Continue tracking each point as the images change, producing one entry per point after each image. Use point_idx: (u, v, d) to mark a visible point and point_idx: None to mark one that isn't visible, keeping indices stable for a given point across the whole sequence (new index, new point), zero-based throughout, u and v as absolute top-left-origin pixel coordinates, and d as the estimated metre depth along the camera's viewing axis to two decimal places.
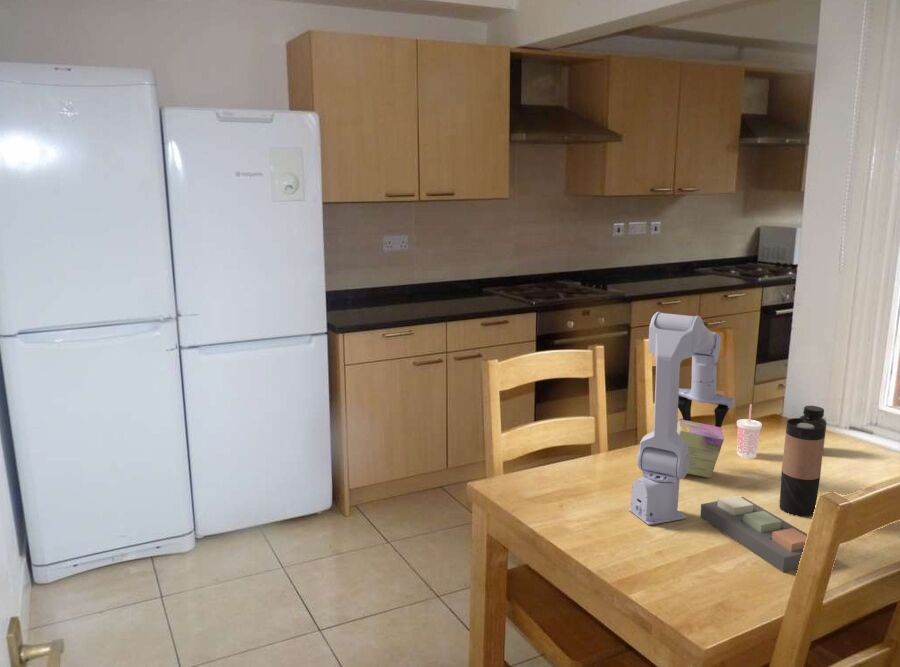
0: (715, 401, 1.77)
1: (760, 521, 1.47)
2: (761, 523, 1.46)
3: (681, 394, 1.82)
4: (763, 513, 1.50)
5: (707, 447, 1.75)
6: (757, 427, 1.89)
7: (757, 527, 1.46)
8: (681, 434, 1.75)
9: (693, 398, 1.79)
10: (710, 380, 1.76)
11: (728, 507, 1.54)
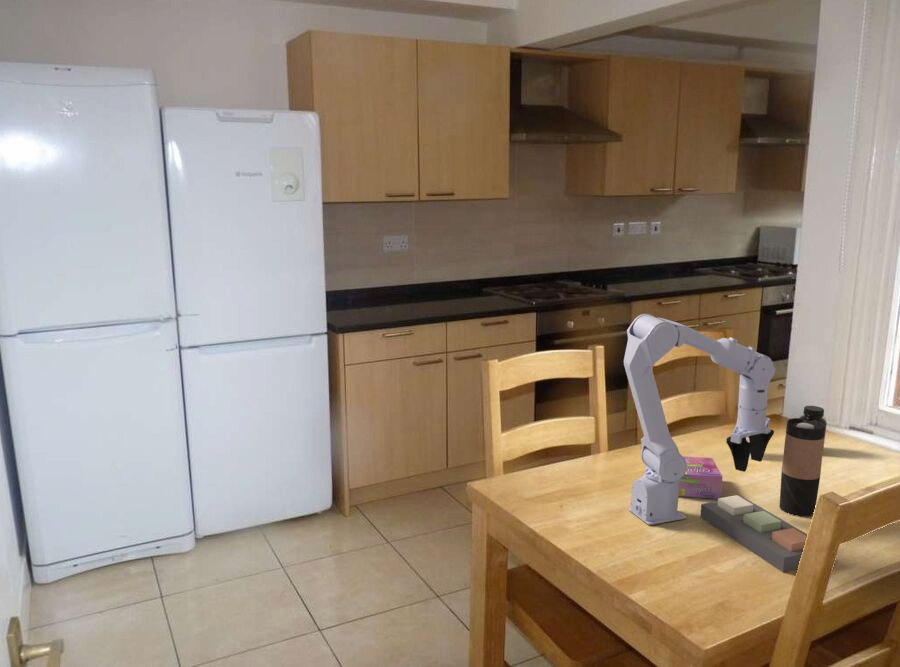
0: None
1: (760, 521, 1.47)
2: (761, 523, 1.46)
3: None
4: (763, 513, 1.50)
5: None
6: None
7: (757, 527, 1.46)
8: None
9: None
10: (749, 407, 1.56)
11: (728, 507, 1.54)
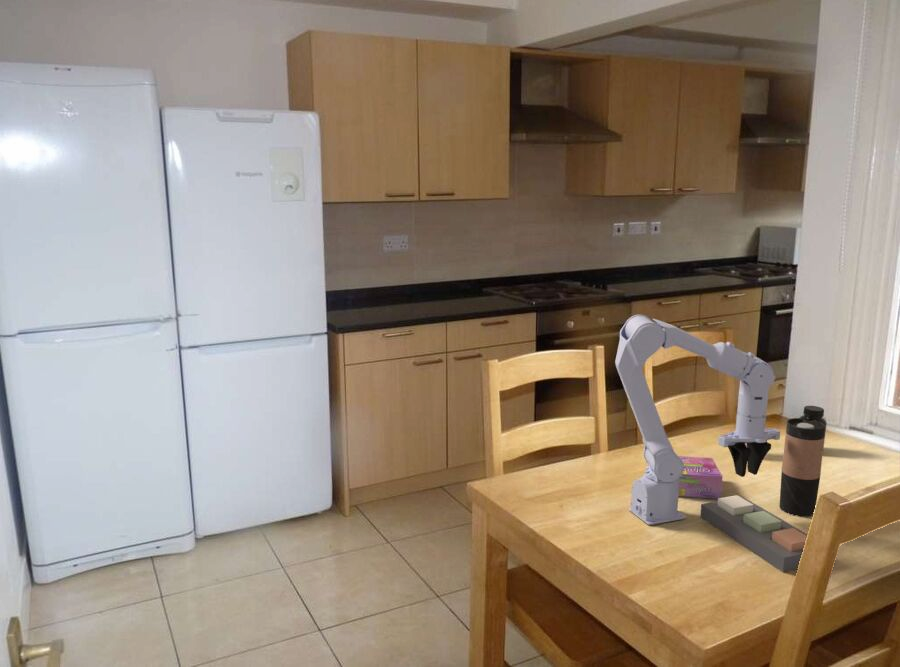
0: None
1: (760, 521, 1.47)
2: (761, 523, 1.46)
3: None
4: (763, 513, 1.50)
5: None
6: None
7: (757, 527, 1.46)
8: None
9: None
10: (746, 414, 1.53)
11: (728, 507, 1.54)
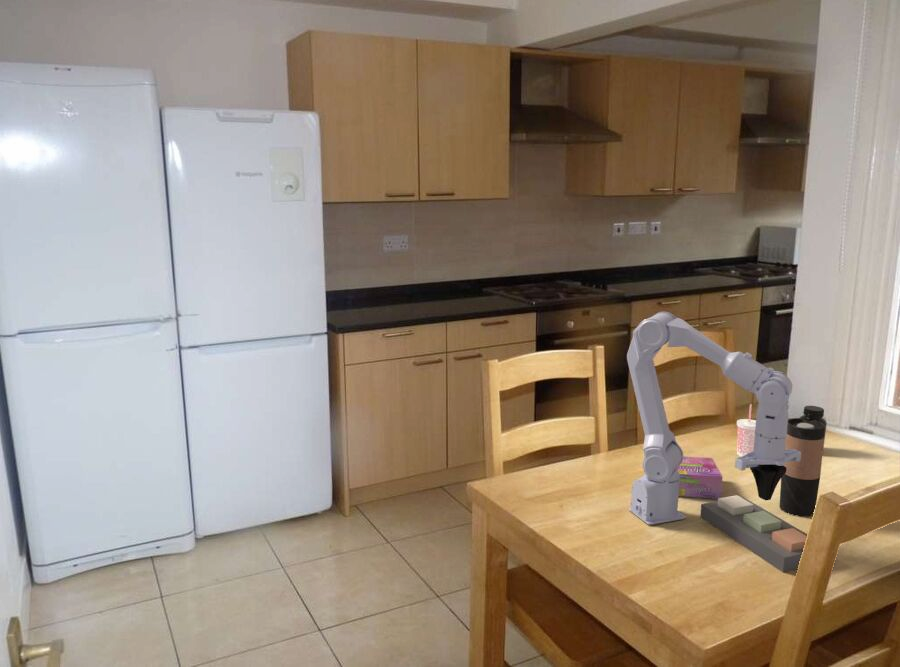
0: None
1: (760, 521, 1.47)
2: (761, 523, 1.46)
3: None
4: (763, 513, 1.50)
5: None
6: None
7: (757, 527, 1.46)
8: None
9: None
10: (758, 432, 1.44)
11: (728, 507, 1.54)
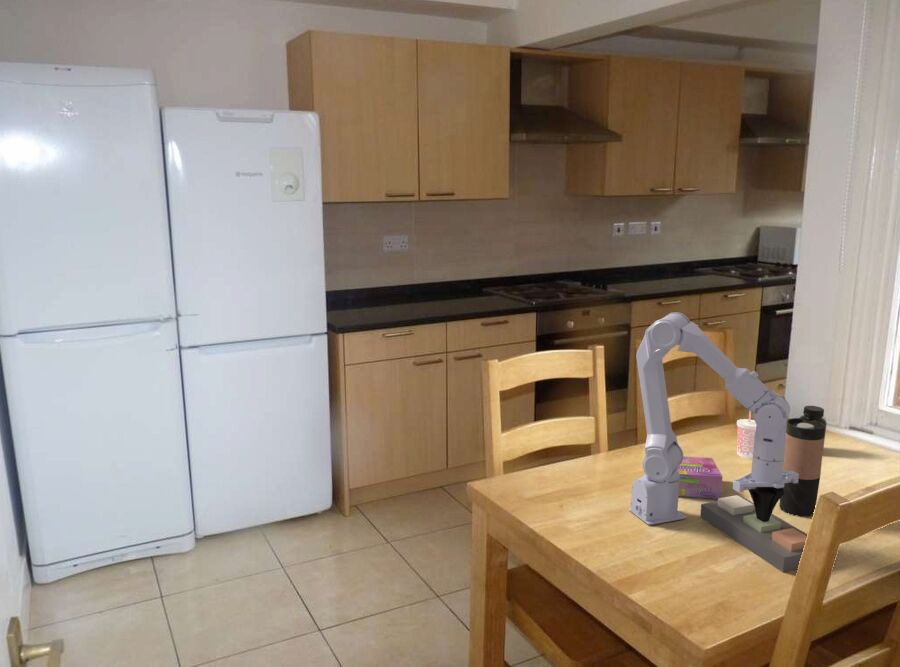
0: None
1: (760, 522, 1.47)
2: (761, 525, 1.46)
3: None
4: None
5: None
6: None
7: (757, 528, 1.47)
8: None
9: None
10: (756, 455, 1.45)
11: (728, 507, 1.54)
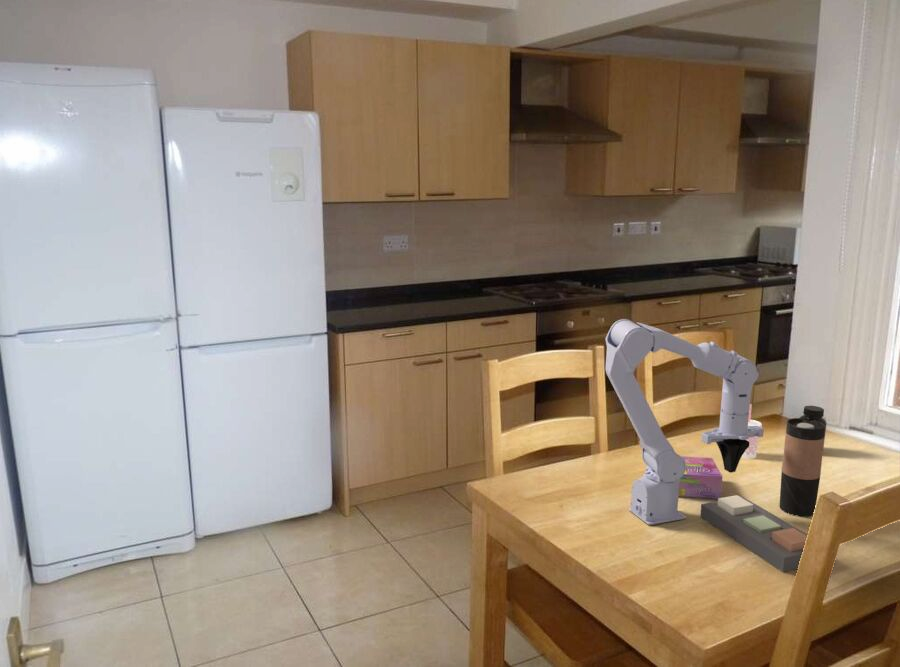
0: None
1: (760, 526, 1.47)
2: (761, 528, 1.46)
3: None
4: (762, 518, 1.51)
5: None
6: None
7: None
8: None
9: None
10: (731, 411, 1.55)
11: (728, 507, 1.54)
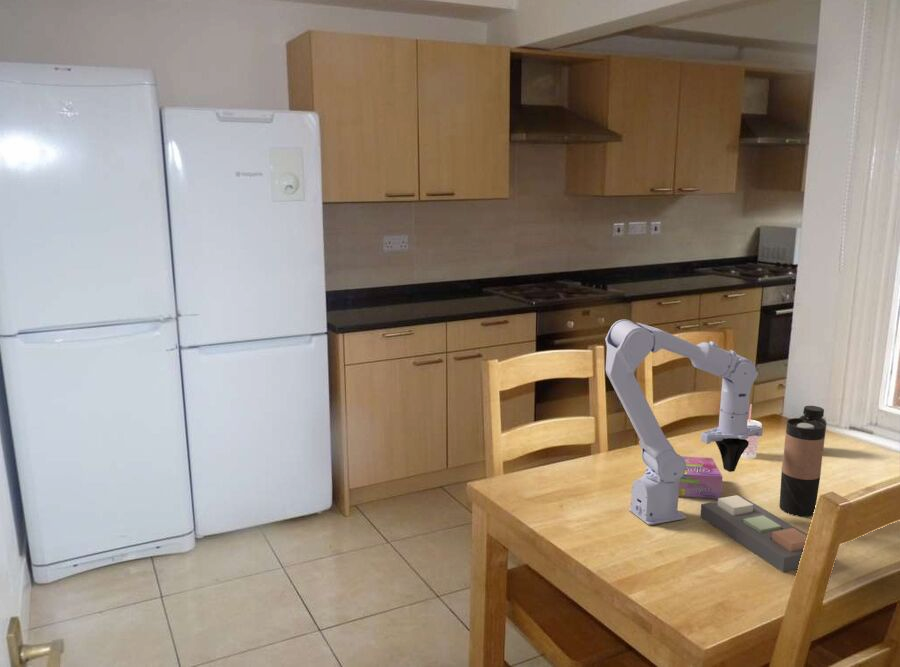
0: None
1: (760, 526, 1.47)
2: (761, 528, 1.46)
3: None
4: (762, 518, 1.51)
5: None
6: None
7: None
8: None
9: None
10: (730, 411, 1.55)
11: (728, 507, 1.54)
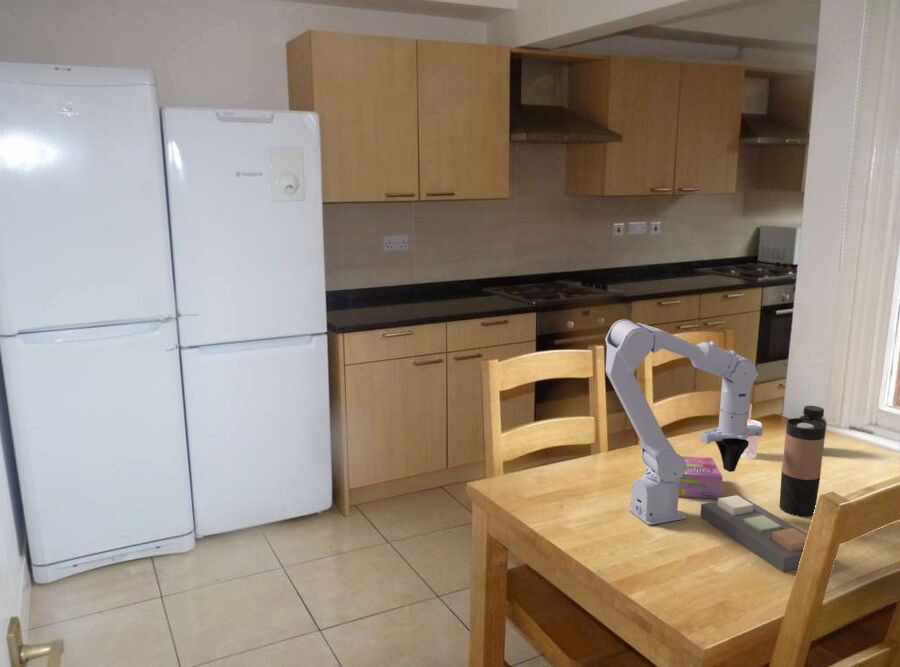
0: None
1: (760, 526, 1.47)
2: (761, 528, 1.46)
3: None
4: (762, 518, 1.51)
5: None
6: None
7: None
8: None
9: None
10: (730, 411, 1.55)
11: (728, 507, 1.54)
